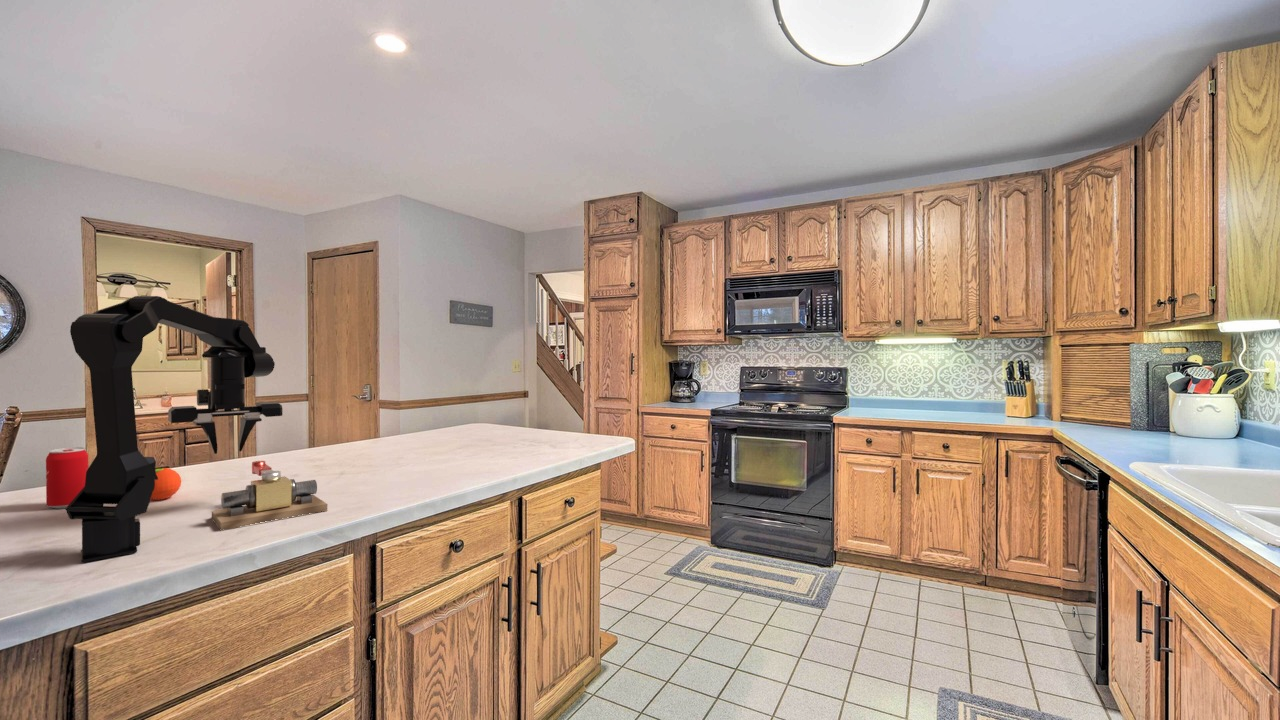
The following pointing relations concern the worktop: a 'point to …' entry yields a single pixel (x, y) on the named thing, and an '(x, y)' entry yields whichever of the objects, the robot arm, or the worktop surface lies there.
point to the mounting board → (266, 514)
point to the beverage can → (65, 475)
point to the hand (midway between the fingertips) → (227, 452)
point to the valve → (268, 495)
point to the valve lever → (265, 471)
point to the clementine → (166, 483)
